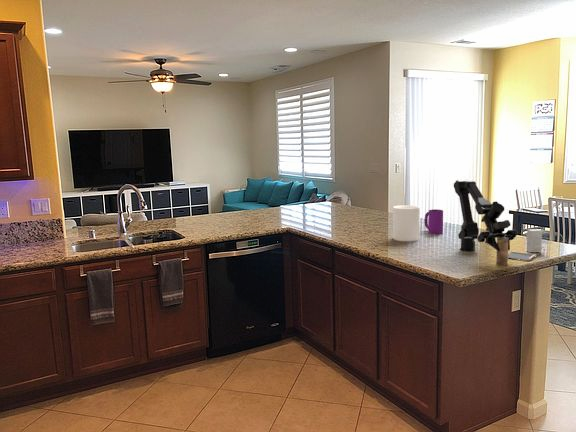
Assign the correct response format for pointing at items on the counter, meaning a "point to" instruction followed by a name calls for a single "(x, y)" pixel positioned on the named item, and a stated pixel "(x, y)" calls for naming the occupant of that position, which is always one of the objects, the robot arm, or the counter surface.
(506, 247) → the brown cylinder
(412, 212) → the canister
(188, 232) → the counter surface
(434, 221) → the mug
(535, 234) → the skincare box
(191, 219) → the counter surface
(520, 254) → the slate mat
